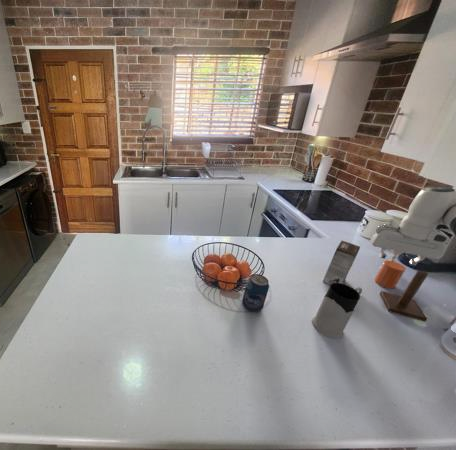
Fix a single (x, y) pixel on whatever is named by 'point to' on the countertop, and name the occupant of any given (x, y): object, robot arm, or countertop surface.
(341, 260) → the coffee box
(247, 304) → the soda can
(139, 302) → the countertop surface
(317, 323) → the glass holder
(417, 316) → the stand
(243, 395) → the countertop surface
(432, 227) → the robot arm
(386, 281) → the cup
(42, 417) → the countertop surface
